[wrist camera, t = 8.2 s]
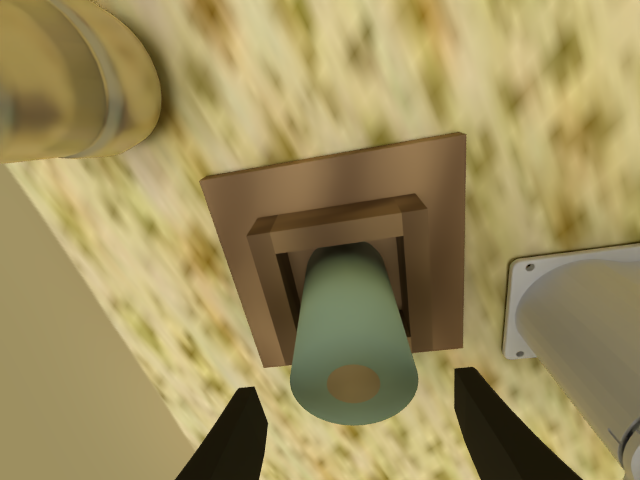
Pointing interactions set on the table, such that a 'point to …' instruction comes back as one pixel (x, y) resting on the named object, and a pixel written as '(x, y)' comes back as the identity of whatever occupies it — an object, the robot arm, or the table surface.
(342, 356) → the roll
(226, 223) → the brown piece
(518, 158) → the table surface
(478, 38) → the table surface
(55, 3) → the plastic bottle
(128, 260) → the table surface
